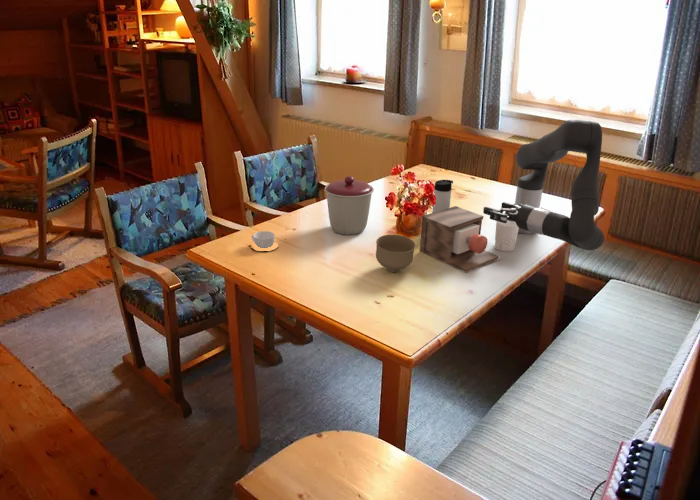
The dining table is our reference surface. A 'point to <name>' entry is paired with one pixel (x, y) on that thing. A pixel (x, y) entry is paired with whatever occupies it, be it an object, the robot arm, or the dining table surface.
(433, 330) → the dining table surface
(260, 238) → the teacup
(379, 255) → the bowl
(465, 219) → the cabinet
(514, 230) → the white cup
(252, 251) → the dining table surface
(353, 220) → the canister
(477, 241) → the drawer with red knob
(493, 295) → the dining table surface
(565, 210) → the dining table surface
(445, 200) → the travel mug
